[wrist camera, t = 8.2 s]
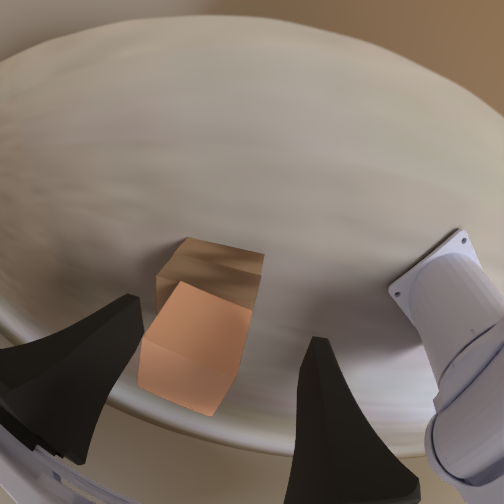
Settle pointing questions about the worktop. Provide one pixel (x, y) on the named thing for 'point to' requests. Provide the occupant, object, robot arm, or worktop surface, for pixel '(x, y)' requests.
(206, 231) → the worktop surface
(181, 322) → the terracotta block
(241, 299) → the tower top
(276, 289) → the worktop surface
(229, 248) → the tower base
